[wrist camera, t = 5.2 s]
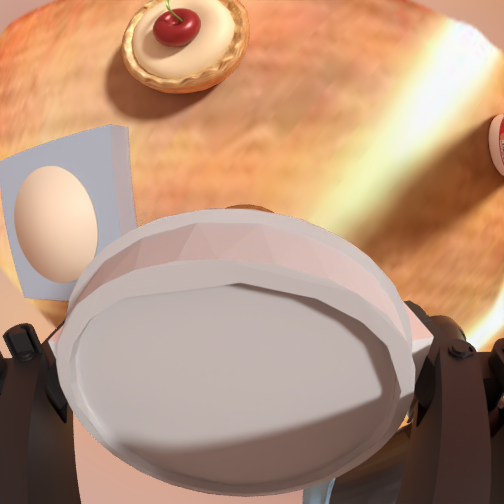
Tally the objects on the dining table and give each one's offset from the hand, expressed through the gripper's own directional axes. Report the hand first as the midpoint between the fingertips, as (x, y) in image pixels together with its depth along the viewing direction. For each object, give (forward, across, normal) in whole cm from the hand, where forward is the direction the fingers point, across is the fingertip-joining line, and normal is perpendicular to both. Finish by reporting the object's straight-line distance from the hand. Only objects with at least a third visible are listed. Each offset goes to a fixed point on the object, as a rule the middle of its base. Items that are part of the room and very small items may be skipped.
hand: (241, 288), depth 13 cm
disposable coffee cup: (+4, 0, 0) cm, 4 cm away
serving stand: (+16, +21, -1) cm, 27 cm away
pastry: (+16, +5, -18) cm, 25 cm away
